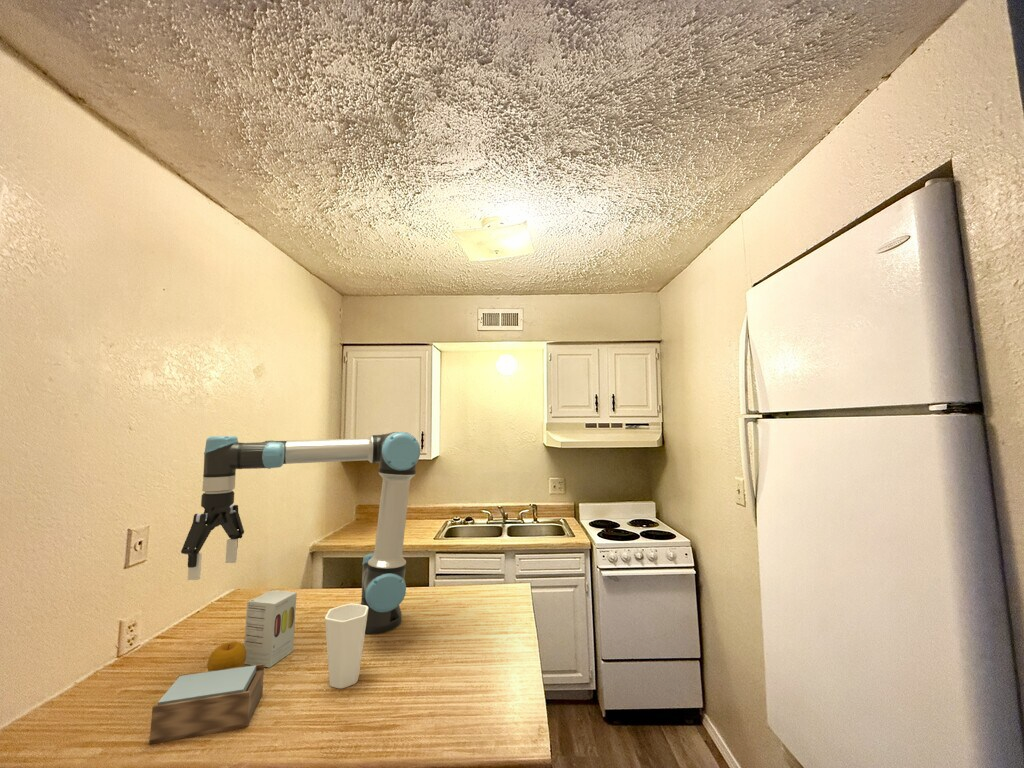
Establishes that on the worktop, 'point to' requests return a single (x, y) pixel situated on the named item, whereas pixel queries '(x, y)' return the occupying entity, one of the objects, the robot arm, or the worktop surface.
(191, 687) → the cover plate
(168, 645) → the worktop surface
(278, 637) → the supplement box
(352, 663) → the cup
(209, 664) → the apple
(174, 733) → the box
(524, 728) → the worktop surface
